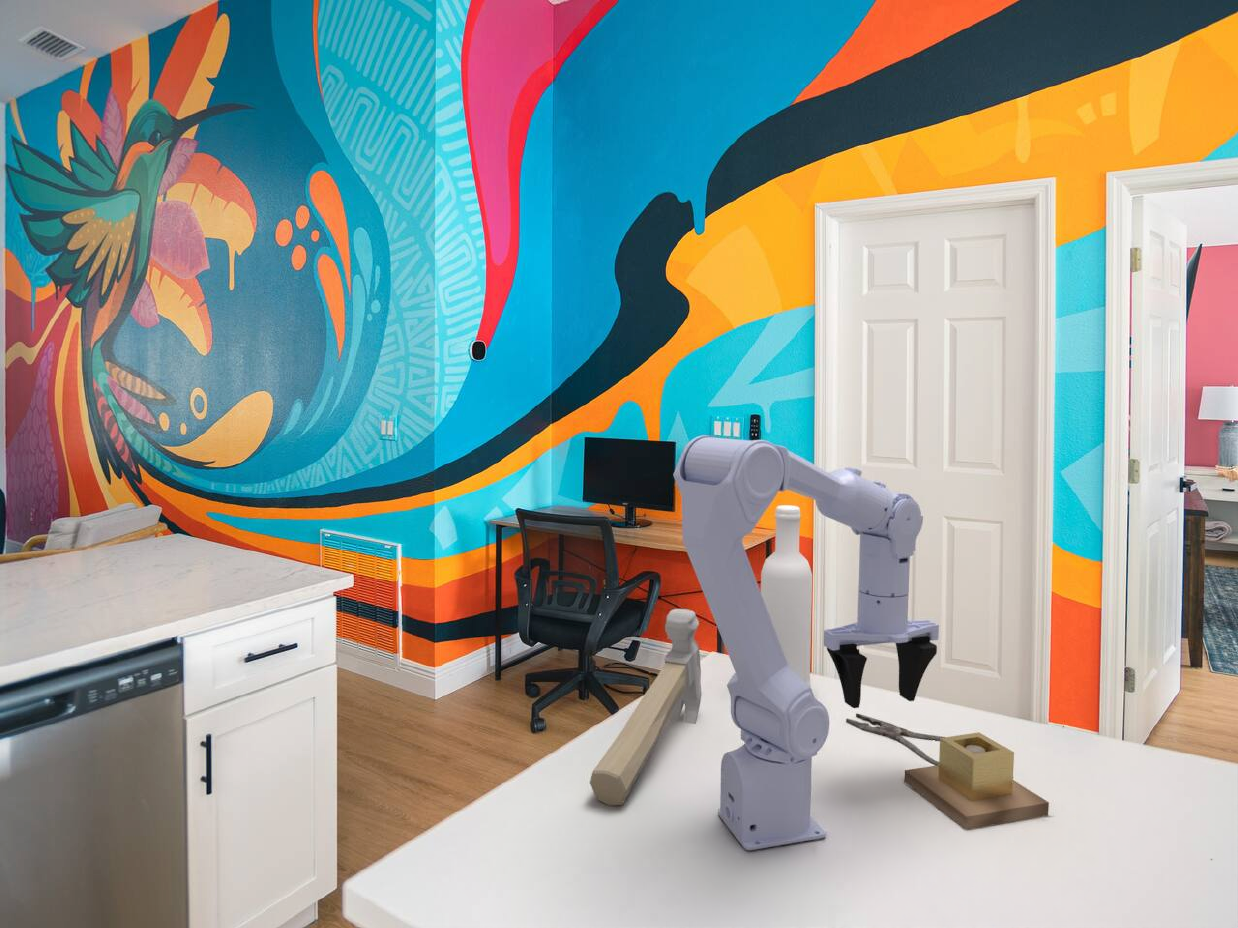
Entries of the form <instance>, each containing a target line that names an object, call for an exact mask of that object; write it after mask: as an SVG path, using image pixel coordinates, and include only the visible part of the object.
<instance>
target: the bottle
mask: <svg viewBox="0 0 1238 928" xmlns="http://www.w3.org/2000/svg"><path fill="white" fill-rule="evenodd" d="M801 517H802V515H801V508H800V507H799V506H797V505H793V504H792V505H788V504H787V505H784V504H781V505H778V506H776V507H775V513H774V519H775V540H774V541H775V543H774V544H775V547H774V551H773V552H772V553H771V554H770V555H769V556H768V557H767V558H766V559H765V561H764V563H763V566H762V569H761V572H760V592H761V594H762V597H763V600H764V602H765V605H766V608H767V610H768V613H769V616H770V618H771V621H772V624H773V626H774V629H775V631H776V634H777V637H778V639H779V642H780V645H781V647H782V650H783V653H784V655H785V658H786V661H787V663H788V665H789V666H790V667H791V668H792V669H793V670H794V671H795V672H796V673H797V674H798V675H799V676H800V677H801V678H802V679H803V680H804V681H805V682H806V683H807V684H808V685H809V686H810V687H811V650H812V649H811V647H812V645H811V642H812V610H813V609H812V605H813V603H812V601H813V573H812V570H811V566H810V564H809V560H807V558H805V556H804V555H802V553H801V552H800V527H801V526H800V523H801V522H800V521H801V519H802V518H801Z"/></svg>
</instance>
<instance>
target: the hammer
mask: <svg viewBox="0 0 1238 928" xmlns="http://www.w3.org/2000/svg"><path fill="white" fill-rule="evenodd" d="M699 625H700V621H699V619H698V618H697V615H696V612H695V611H693V610H691V609H688V608H687V609H686V608H674V609H671V610H670V611H669V612H668V613H667V615H666V620H665V625H664V629H665V633H666V635H667V637H666V639H667V640H671V643H672V644H671V645H672V647H671V650H669V651H668V652H667V654H666V655H665V656H664V665H663V666H662V668H661V670H660V671H659V673H658V674H657V676H656V677H655V679H654V681H653V682H652V683H651V685H650V686H649V687H648V689H647V690H646V692H645V694H644V695H643V697H642V698H641V699H640V701H639V703H638V704H637V706H636V707H635V709H634V711H633V712H632V714H631V715H630V716H629V718H628V720H627V721H626V723H625V724H624V726H623V728H622V729H621V730H620V732H619V733H618V736H617V737H616V738H615V740H614V741H613V743H611V746H609V748H608V750H607V751H606V752H605V753H604V754H603V757H601V759H600V760H599V762H598V763H597V765H596V766H595V767H594V769H593V771H592V772H591V776H590V779H589V785H590V787H591V789H592V791H593V793H594V795H595V798H596V800H599V802H602V803H603V804H606V805H608V806H611V807H612V806H622V805H623V804H624V803H625V801H626V799H627V796H628V795H629V793H630V792H631V789H632V788H633V786H634V784H635V782H636V780H637V778H638V776H639V775H640V773H641V771H642V769H643V767H644V765H645V763H646V762H647V760H648V758H649V757H650V755H651V753H653V752H652V751H653V750H654V748H655V745H656V744H657V742H658V739H659V737H660V735H661V733H662V731H663V729H664V727H665V726H666V724H667V722H668V720H669V721H674V720H675V721H676V722H678V721H679V720H680V716H681V714H682V710H683V708H684V713H683V720H682V721H683V723H687V724H693V725H695V724H696V723H697V718H698V715H699V711H700V706H701V702H702V701H701V699H702V694H703V693H702V683H701V682H702V680H701V679H702V676H701V675H702V670H701V668H702V667H701V657H700V653H701V652H700V645H699V644H698V642H697V641H696V640H695V634H696V631H698V627H699Z"/></svg>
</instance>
